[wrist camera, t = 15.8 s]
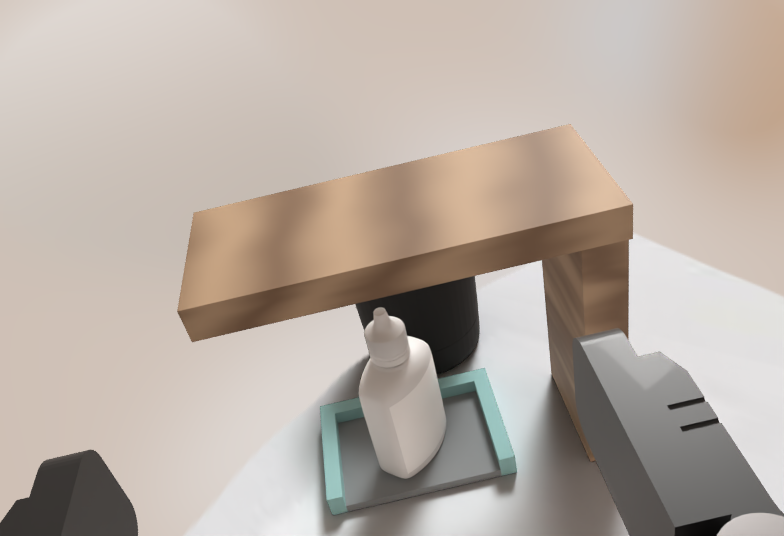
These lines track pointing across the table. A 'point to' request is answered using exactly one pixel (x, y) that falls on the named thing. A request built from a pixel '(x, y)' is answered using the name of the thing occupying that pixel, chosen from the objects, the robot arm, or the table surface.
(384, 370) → the eye dropper bottle
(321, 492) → the table surface
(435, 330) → the pen holder
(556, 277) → the shelf
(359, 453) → the mint green tray
